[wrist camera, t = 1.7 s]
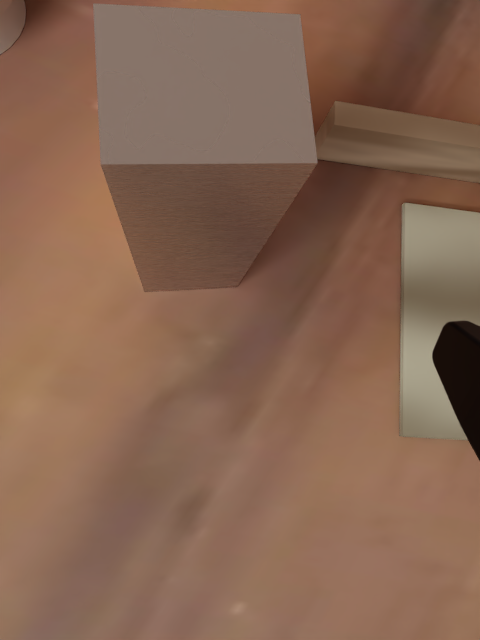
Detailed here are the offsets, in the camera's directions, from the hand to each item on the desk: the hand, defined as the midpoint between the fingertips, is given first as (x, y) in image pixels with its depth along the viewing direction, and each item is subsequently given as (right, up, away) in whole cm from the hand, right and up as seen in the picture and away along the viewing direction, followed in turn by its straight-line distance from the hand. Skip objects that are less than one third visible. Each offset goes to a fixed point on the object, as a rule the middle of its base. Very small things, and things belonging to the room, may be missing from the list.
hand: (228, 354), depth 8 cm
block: (-2, +6, +13) cm, 14 cm away
